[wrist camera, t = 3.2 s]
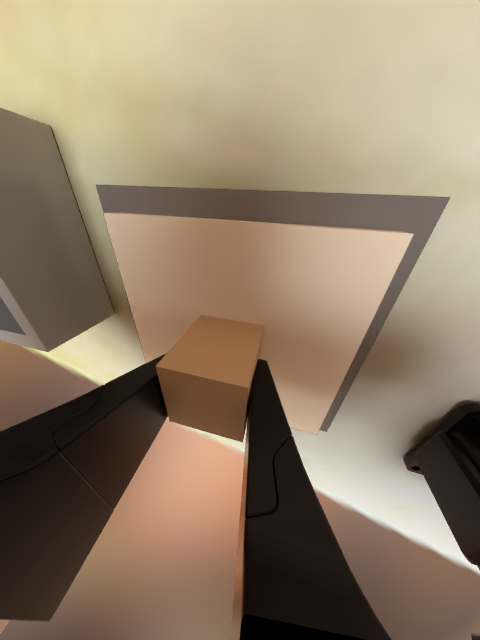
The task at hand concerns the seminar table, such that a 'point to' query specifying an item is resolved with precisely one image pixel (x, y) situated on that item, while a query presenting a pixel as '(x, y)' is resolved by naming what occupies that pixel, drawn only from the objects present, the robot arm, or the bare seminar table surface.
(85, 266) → the dish
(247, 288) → the lid
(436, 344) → the seminar table surface
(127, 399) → the robot arm
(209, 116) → the seminar table surface
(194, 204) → the mat
